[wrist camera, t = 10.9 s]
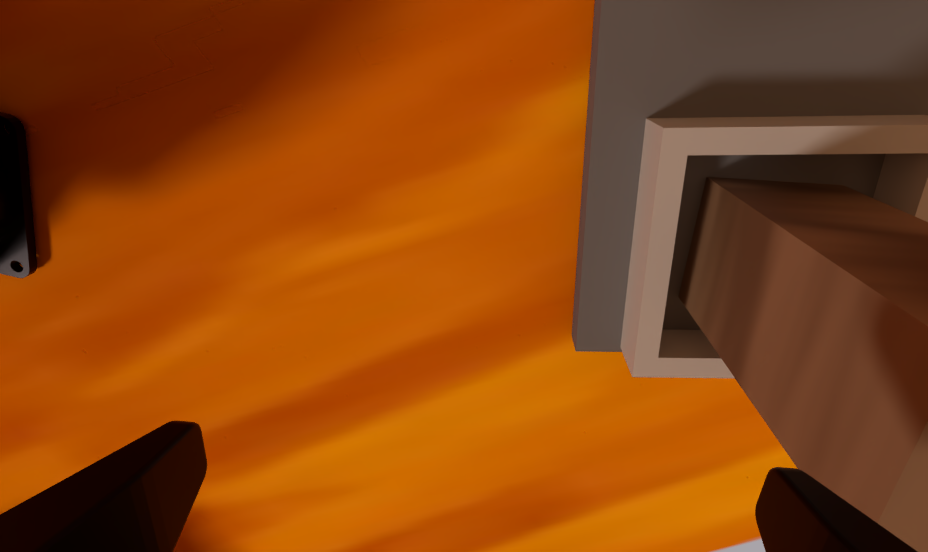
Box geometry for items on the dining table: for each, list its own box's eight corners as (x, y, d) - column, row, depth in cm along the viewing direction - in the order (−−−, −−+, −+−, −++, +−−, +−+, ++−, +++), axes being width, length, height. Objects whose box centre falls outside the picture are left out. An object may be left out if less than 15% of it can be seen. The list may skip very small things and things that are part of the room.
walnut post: (678, 296, 20) (860, 558, 10) (706, 176, 18) (961, 350, 8) (801, 305, 20) (1109, 577, 10) (842, 185, 18) (1270, 371, 8)
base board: (625, -438, 14) (676, -624, 10) (1142, -473, 13) (1416, -687, 9) (571, 335, 22) (587, 397, 19) (875, 338, 22) (957, 403, 18)
